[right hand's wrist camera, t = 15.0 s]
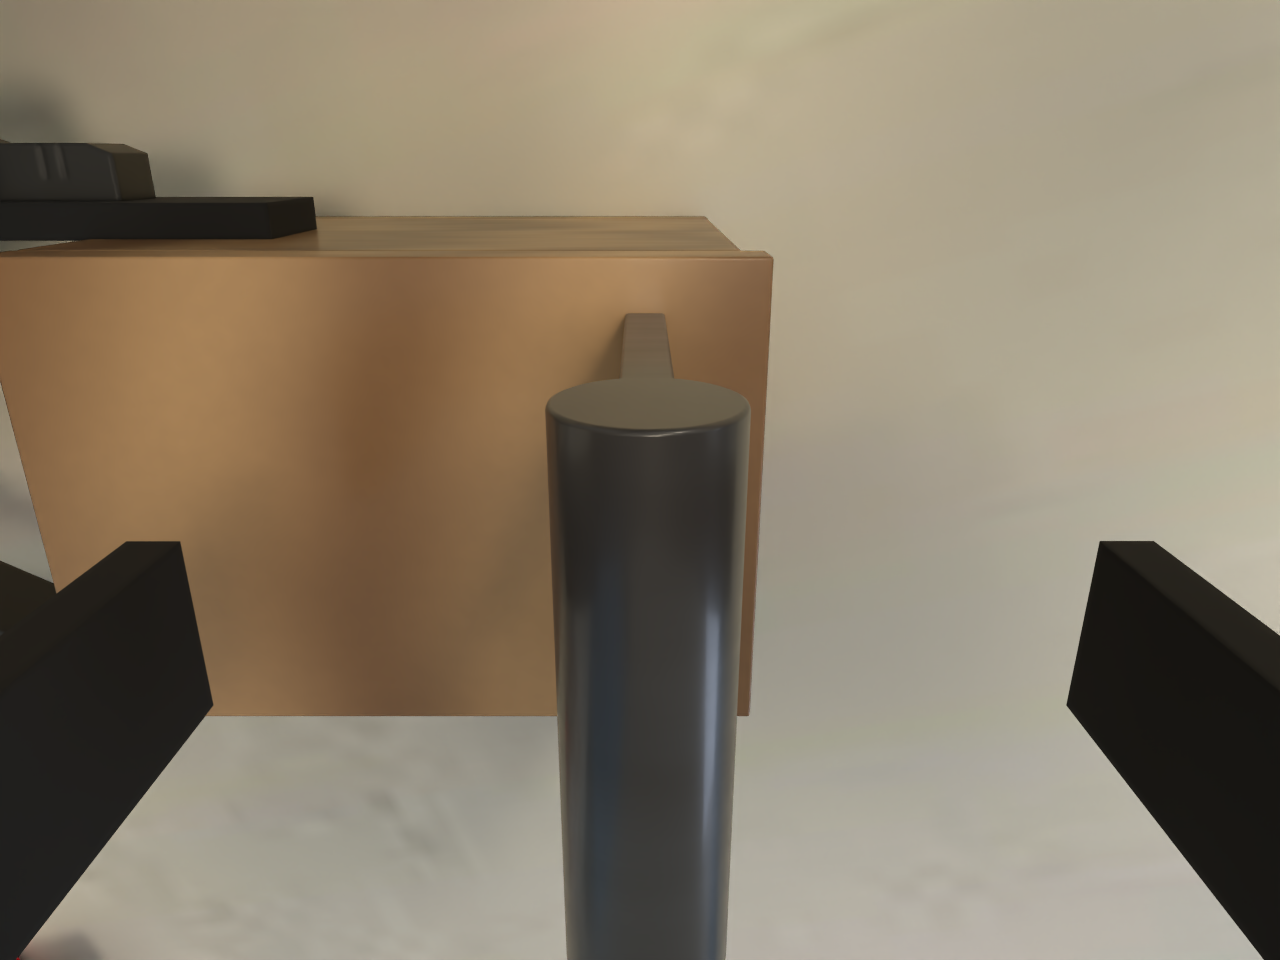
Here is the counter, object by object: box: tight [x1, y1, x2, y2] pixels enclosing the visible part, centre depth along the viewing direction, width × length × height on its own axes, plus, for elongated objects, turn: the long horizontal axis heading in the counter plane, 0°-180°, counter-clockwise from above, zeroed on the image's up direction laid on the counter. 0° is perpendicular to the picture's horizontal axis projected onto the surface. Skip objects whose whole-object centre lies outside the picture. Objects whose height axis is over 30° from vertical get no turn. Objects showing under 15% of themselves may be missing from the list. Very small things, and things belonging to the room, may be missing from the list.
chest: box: [18, 216, 741, 251], centre depth 22 cm, size 14×9×10 cm
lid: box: [0, 251, 773, 960], centre depth 14 cm, size 14×9×9 cm
